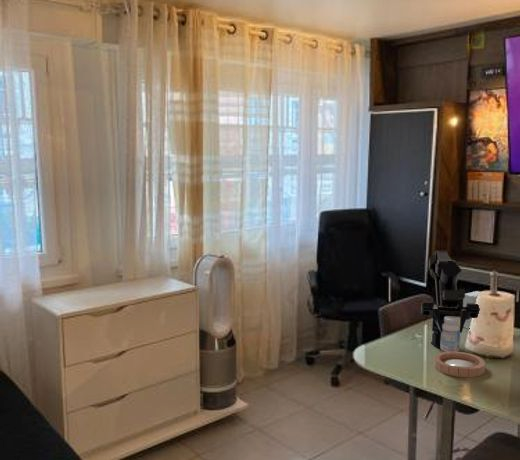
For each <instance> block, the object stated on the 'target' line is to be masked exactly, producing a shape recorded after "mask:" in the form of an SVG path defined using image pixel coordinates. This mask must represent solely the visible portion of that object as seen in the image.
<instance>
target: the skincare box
mask: <svg viewBox="0 0 520 460" xmlns="http://www.w3.org/2000/svg"><path fill="white" fill-rule="evenodd" d="M480 292H481V291H478V290H475V291H472V292H467V293H466V292H465V298H464V299H462V307H466V304H467V303H474V304H475V302H476V298H477V295H478V293H480ZM470 322H471V318H470V319H468V320H466V321H465V323H464V326H463V329H464V328H465V329H468V330H469V326H470Z"/></svg>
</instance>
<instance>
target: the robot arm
mask: <svg viewBox="0 0 520 460" xmlns="http://www.w3.org/2000/svg"><path fill="white" fill-rule="evenodd" d="M428 271H429V272H430V277H431V278H433V280H434V281H435V282H434V283H435V295H436V296H435V297H436V304H434V303H435V302H434V301H423V302H421V305H420V315H421V316H424V317H426V316H427V317H428V318H430V319H431V321H430V329H431V331H432V332H433V333H432V334H431V336H432V337H431V342H430V343H431V344H432V345H433V346H435V347H436V348H437V349H441V348H440V344H441V332H442V324H443V323H445V322H444V317H445V316H454V317H456V316H455V313H460V318H459V326H460V334H462V333H463V329H464V327H463V326H464V323H465V321H466V320H468V319H470V318H477V317H478V314H479V311H480V308H479V305H478V304H474V303H467V304H466V307H463V306H459V305H460V300H463V299H464V298H465V294H466V291H465V288H459V289H458V288H457V282H458V280H459V276H460V273H462V269H461V267H460V266H459V263H457V261H456V260H454V259H452V258H451V256H450V255H449V251H447V250H436V251H434V254H433V255H431V256H430V257H429V260H428Z"/></svg>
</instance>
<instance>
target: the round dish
mask: <svg viewBox="0 0 520 460" xmlns="http://www.w3.org/2000/svg"><path fill="white" fill-rule="evenodd" d="M433 358H434V362H433V363H434V368H435V369H436V370H437V371H438V372H440V373H443V374H446V376H447V375H448V376H452V377H458V378H475V377H480V376H483V375H484V373H485V371H486V362H485V360H484V358H481V357H480V356H478V355H475V354H473V353H468V352H463V351H457V352H446V351H441V352H438V353H436V355H434V357H433Z"/></svg>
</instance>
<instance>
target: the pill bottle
mask: <svg viewBox="0 0 520 460" xmlns="http://www.w3.org/2000/svg"><path fill="white" fill-rule="evenodd" d="M454 316H455V315H454ZM454 316H445V317H444V322H445V323H443V324H442V332H441V344H440V348H439V349H440V350H442V352H460V342H461V341H460V339H461V333H460V324H459V321H460V318H458V317H454Z"/></svg>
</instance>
